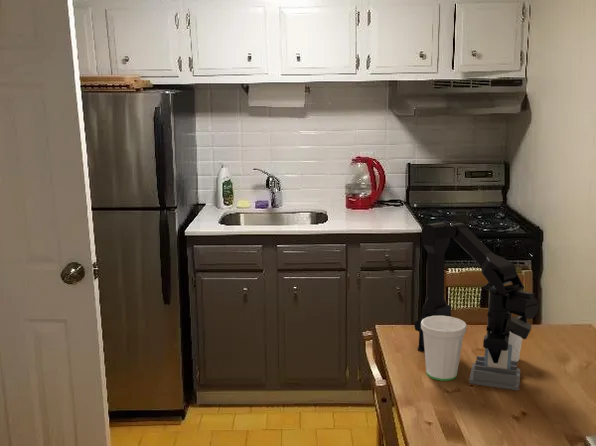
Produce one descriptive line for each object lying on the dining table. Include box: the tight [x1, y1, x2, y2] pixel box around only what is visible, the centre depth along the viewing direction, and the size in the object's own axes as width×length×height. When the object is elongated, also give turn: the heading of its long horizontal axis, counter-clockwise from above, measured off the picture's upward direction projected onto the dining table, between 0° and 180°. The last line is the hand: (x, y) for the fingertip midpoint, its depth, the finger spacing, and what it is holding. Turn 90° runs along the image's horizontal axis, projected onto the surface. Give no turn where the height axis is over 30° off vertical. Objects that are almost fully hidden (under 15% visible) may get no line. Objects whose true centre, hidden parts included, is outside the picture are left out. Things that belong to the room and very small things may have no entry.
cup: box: [421, 316, 468, 382], centre depth 181 cm, size 12×12×15 cm
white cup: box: [508, 332, 523, 363], centre depth 191 cm, size 8×8×10 cm
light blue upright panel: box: [484, 344, 512, 370], centre depth 179 cm, size 7×2×9 cm, turn 70°
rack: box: [468, 355, 521, 392], centre depth 179 cm, size 13×12×4 cm
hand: (495, 361), depth 179 cm, fingers closed on light blue upright panel, 2 cm apart
